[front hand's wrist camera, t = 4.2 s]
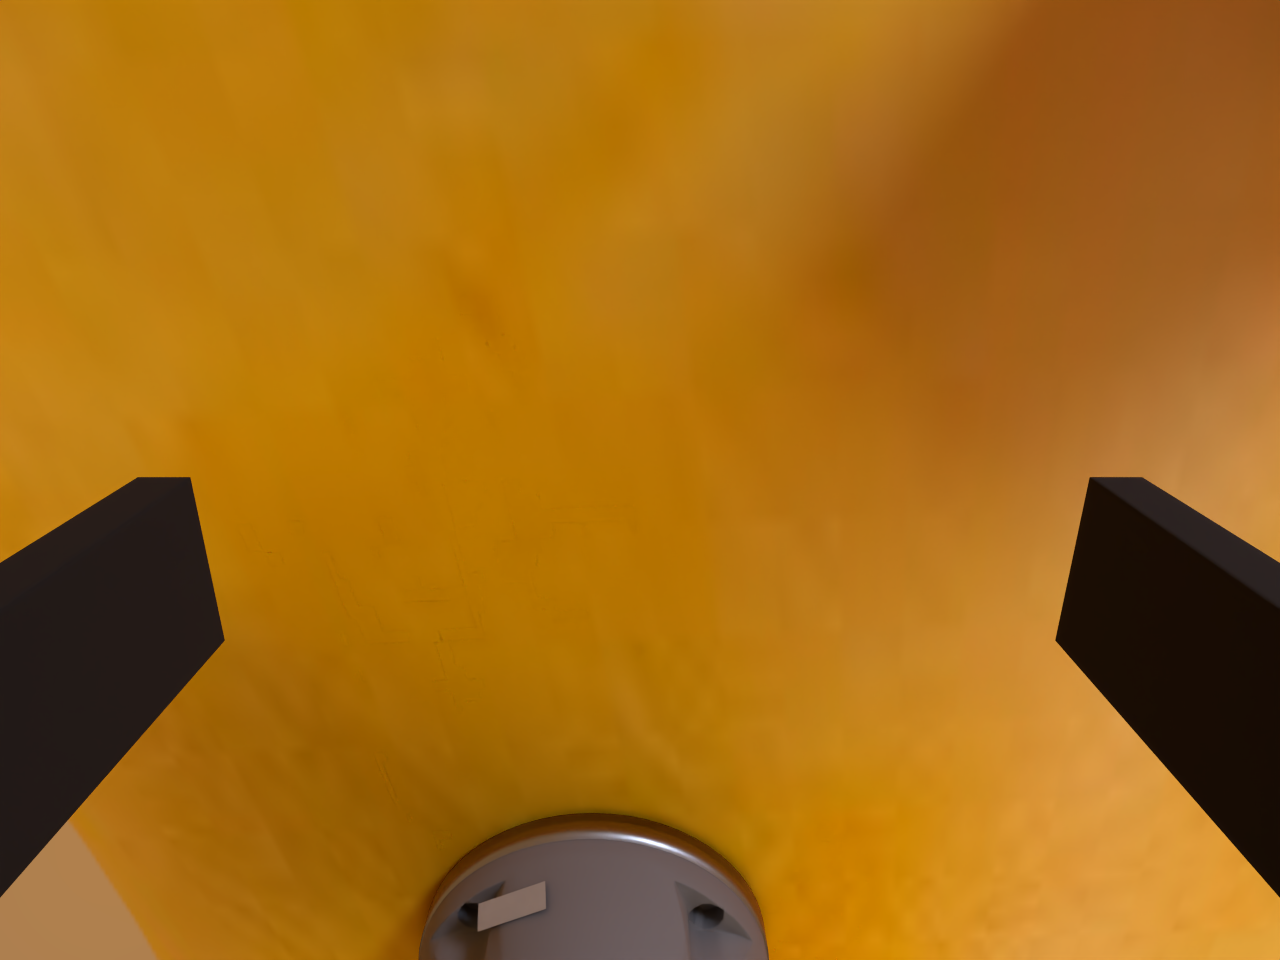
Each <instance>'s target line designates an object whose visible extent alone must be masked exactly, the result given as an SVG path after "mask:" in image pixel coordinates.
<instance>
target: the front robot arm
mask: <svg viewBox="0 0 1280 960" xmlns="http://www.w3.org/2000/svg"><path fill="white" fill-rule="evenodd" d="M224 641H225V640H224V635H223V630H222V626H221V621H220V616H219V611H218V607H217V602H216V597H215V592H214V588H213V583H212V578H211V573H210V569H209V564H208V559H207V554H206V550H205V545H204V540H203V535H202V531H201V526H200V521H199V517H198V512H197V507H196V502H195V498H194V493H193V488H192V483H191V479H190V477H137V478H136V479H134V480H133V481H131V482H129V483H128V484H126V485H125V486H123V487H121V488H120V489H118V490H117V491H115V492H113V493H112V494H110V495H109V496H107V497H105V498H104V499H102V500H101V501H99V502H97V503H96V504H94V505H93V506H91V507H89V508H88V509H86V510H84V511H83V512H81V513H80V514H78V515H76V516H75V517H73V518H72V519H70V520H68V521H67V522H65V523H64V524H62V525H60V526H59V527H57V528H56V529H54V530H52V531H51V532H49V533H48V534H46V535H44V536H43V537H41V538H40V539H38V540H36V541H35V542H33V543H31V544H30V545H28V546H27V547H25V548H23V549H22V550H20V551H19V552H17V553H15V554H14V555H12V556H11V557H9V558H7V559H6V560H4V561H3V562H1V563H0V897H1V896H2V895H3V894H4V893H5V891H6V890H7V889H8V888H9V887H10V886H11V885H12V883H13V882H14V881H15V880H16V879H17V878H18V876H19V875H20V874H21V873H22V872H23V871H24V870H25V868H26V867H27V866H28V865H29V864H30V863H31V862H32V860H33V859H34V858H35V857H36V856H37V855H38V854H39V852H40V851H41V850H42V849H43V848H44V847H45V846H46V844H47V843H48V842H49V841H50V840H51V839H52V838H53V836H54V835H55V834H56V833H57V832H58V831H59V829H60V828H61V827H62V826H63V825H64V824H65V823H66V822H67V820H68V819H69V818H70V817H71V816H72V815H73V813H74V812H75V811H76V810H77V809H78V808H79V807H80V805H81V804H82V803H83V802H84V801H85V800H86V799H87V797H88V796H89V795H90V794H91V793H92V792H93V791H94V789H95V788H96V787H97V786H98V785H99V784H100V783H101V781H102V780H103V779H104V778H105V777H106V776H107V775H108V773H109V772H110V771H111V770H112V769H113V768H114V767H115V765H116V764H117V763H118V762H119V761H120V760H121V759H122V757H123V756H124V755H125V754H126V753H127V752H128V751H129V749H130V748H131V747H132V746H133V745H134V744H135V742H136V741H137V740H138V739H139V738H140V737H141V736H142V734H143V733H144V732H145V731H146V730H147V729H148V728H149V726H150V725H151V724H152V723H153V722H154V721H155V720H156V718H157V717H158V716H159V715H160V714H161V713H162V712H163V710H164V709H165V708H166V707H167V706H168V705H169V704H170V702H171V701H172V700H173V699H174V698H175V697H176V696H177V694H178V693H179V692H180V691H181V690H182V689H183V688H184V686H185V685H186V684H187V683H188V682H189V681H190V679H191V678H192V677H193V676H194V675H195V674H196V673H197V671H198V670H199V669H200V668H201V667H202V666H203V665H204V663H205V662H206V661H207V660H208V659H209V658H210V657H211V655H212V654H213V653H214V652H215V651H216V650H217V649H218V647H219V646H220V645H221V644H222V643H223V642H224ZM1055 641H1056V642H1057V643H1058V644H1059V645H1060V646H1061V647H1062V649H1063V650H1064V651H1065V652H1066V653H1067V654H1068V655H1069V657H1070V658H1071V659H1072V660H1073V661H1074V662H1075V663H1076V665H1077V666H1078V667H1079V668H1080V669H1081V670H1082V671H1083V673H1084V674H1085V675H1086V676H1087V677H1088V678H1089V679H1090V681H1091V682H1092V683H1093V684H1094V685H1095V686H1096V688H1097V689H1098V690H1099V691H1100V692H1101V693H1102V694H1103V696H1104V697H1105V698H1106V699H1107V700H1108V701H1109V702H1110V704H1111V705H1112V706H1113V707H1114V708H1115V709H1116V710H1117V712H1118V713H1119V714H1120V715H1121V716H1122V717H1123V718H1124V720H1125V721H1126V722H1127V723H1128V724H1129V725H1130V726H1131V728H1132V729H1133V730H1134V731H1135V732H1136V733H1137V734H1138V736H1139V737H1140V738H1141V739H1142V740H1143V741H1144V742H1145V744H1146V745H1147V746H1148V747H1149V748H1150V749H1151V751H1152V752H1153V753H1154V754H1155V755H1156V756H1157V757H1158V759H1159V760H1160V761H1161V762H1162V763H1163V764H1164V765H1165V767H1166V768H1167V769H1168V770H1169V771H1170V772H1171V773H1172V775H1173V776H1174V777H1175V778H1176V779H1177V780H1178V781H1179V783H1180V784H1181V785H1182V786H1183V787H1184V788H1185V789H1186V791H1187V792H1188V793H1189V794H1190V795H1191V796H1192V797H1193V799H1194V800H1195V801H1196V802H1197V803H1198V804H1199V805H1200V807H1201V808H1202V809H1203V810H1204V811H1205V812H1206V814H1207V815H1208V816H1209V817H1210V818H1211V819H1212V820H1213V822H1214V823H1215V824H1216V825H1217V826H1218V827H1219V828H1220V830H1221V831H1222V832H1223V833H1224V834H1225V835H1226V836H1227V838H1228V839H1229V840H1230V841H1231V842H1232V843H1233V844H1234V846H1235V847H1236V848H1237V849H1238V850H1239V851H1240V852H1241V854H1242V855H1243V856H1244V857H1245V858H1246V859H1247V860H1248V862H1249V863H1250V864H1251V865H1252V866H1253V867H1254V868H1255V870H1256V871H1257V872H1258V873H1259V874H1260V875H1261V876H1262V878H1263V879H1264V880H1265V881H1266V882H1267V883H1268V885H1269V886H1270V887H1271V888H1272V889H1273V890H1274V891H1275V893H1276V894H1277V895H1278V896H1279V897H1280V563H1279V562H1277V561H1276V560H1274V559H1273V558H1271V557H1269V556H1268V555H1266V554H1265V553H1263V552H1261V551H1260V550H1258V549H1257V548H1255V547H1253V546H1252V545H1250V544H1249V543H1247V542H1245V541H1244V540H1242V539H1240V538H1239V537H1237V536H1236V535H1234V534H1232V533H1231V532H1229V531H1228V530H1226V529H1224V528H1223V527H1221V526H1220V525H1218V524H1216V523H1215V522H1213V521H1212V520H1210V519H1208V518H1207V517H1205V516H1204V515H1202V514H1200V513H1199V512H1197V511H1196V510H1194V509H1192V508H1191V507H1189V506H1187V505H1186V504H1184V503H1183V502H1181V501H1179V500H1178V499H1176V498H1175V497H1173V496H1171V495H1170V494H1168V493H1167V492H1165V491H1163V490H1162V489H1160V488H1159V487H1157V486H1155V485H1154V484H1152V483H1151V482H1149V481H1147V480H1146V479H1144V478H1142V477H1090V479H1089V483H1088V488H1087V493H1086V498H1085V502H1084V507H1083V512H1082V517H1081V521H1080V526H1079V531H1078V535H1077V540H1076V545H1075V550H1074V554H1073V559H1072V564H1071V569H1070V573H1069V578H1068V583H1067V588H1066V592H1065V597H1064V602H1063V607H1062V611H1061V616H1060V621H1059V626H1058V630H1057V635H1056V640H1055ZM419 960H769V956H768V948H767V942H766V935H765V929H764V923H763V919H762V915H761V911H760V908H759V906H758V903H757V901H756V898H755V897H754V895H753V893H752V891H751V889H750V888H749V886H748V885H747V883H746V882H745V880H744V879H743V878H742V876H741V875H740V874H739V873H738V872H737V871H736V869H735V868H734V867H733V866H732V865H731V864H730V863H729V862H728V861H726V860H725V859H724V858H723V857H722V856H721V855H720V854H718V853H717V852H716V851H714V850H713V849H711V848H710V847H709V846H707V845H706V844H704V843H702V842H700V841H699V840H697V839H695V838H694V837H692V836H690V835H687V834H685V833H683V832H681V831H679V830H677V829H674V828H671V827H669V826H666V825H663V824H660V823H656V822H653V821H649V820H646V819H641V818H636V817H631V816H624V815H615V814H600V813H584V814H569V815H560V816H554V817H549V818H544V819H539V820H536V821H532V822H528V823H525V824H522V825H519V826H517V827H514V828H511V829H509V830H506V831H504V832H502V833H500V834H498V835H496V836H494V837H492V838H490V839H489V840H487V841H485V842H484V843H482V844H480V845H479V846H478V847H476V848H475V849H474V850H472V851H471V852H470V853H468V854H467V855H466V856H465V857H464V858H463V859H462V860H460V861H459V862H458V863H457V864H456V865H455V867H454V868H453V869H452V870H451V871H450V872H449V873H448V875H447V876H446V878H445V879H444V880H443V882H442V883H441V885H440V887H439V889H438V890H437V892H436V894H435V896H434V899H433V901H432V904H431V907H430V910H429V913H428V917H427V921H426V924H425V928H424V931H423V935H422V939H421V944H420V949H419Z"/></svg>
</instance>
